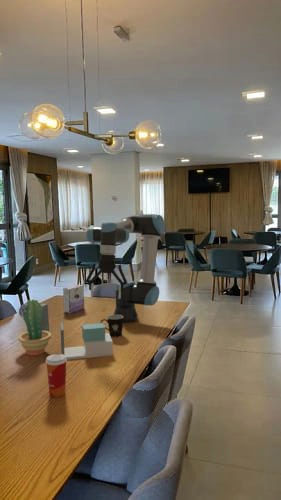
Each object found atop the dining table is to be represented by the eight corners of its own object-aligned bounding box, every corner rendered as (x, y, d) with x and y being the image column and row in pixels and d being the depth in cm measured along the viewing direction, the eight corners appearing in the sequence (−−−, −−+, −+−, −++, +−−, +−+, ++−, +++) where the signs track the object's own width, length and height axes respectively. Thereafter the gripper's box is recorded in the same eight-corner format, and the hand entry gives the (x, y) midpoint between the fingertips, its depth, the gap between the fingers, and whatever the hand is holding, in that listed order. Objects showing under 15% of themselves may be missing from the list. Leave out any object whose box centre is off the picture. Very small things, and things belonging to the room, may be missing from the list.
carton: (103, 335, 184) (102, 323, 184) (105, 340, 177) (105, 327, 177) (82, 336, 182) (82, 324, 181) (83, 342, 175) (83, 329, 174)
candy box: (78, 307, 260) (77, 284, 258) (84, 309, 257) (84, 285, 255) (63, 312, 249) (62, 287, 247) (69, 313, 246) (69, 288, 244)
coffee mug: (126, 333, 206) (126, 315, 205) (119, 338, 198) (118, 320, 197) (107, 330, 211) (107, 313, 210) (99, 335, 203) (99, 317, 202)
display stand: (108, 346, 188) (108, 318, 186) (112, 355, 177) (112, 325, 175) (61, 350, 183) (60, 322, 181) (62, 360, 171) (61, 330, 170)
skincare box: (43, 336, 203) (42, 307, 202) (31, 335, 205) (29, 306, 203) (50, 331, 212) (49, 303, 210) (38, 330, 213) (37, 302, 211)
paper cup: (48, 389, 144) (47, 353, 142) (69, 388, 145) (67, 352, 143) (45, 399, 136) (43, 362, 135) (66, 398, 137) (65, 361, 135)
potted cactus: (24, 345, 190) (22, 296, 187) (55, 345, 189) (54, 296, 186) (13, 357, 174) (11, 304, 172) (47, 358, 174) (45, 304, 171)
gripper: (80, 253, 182) (78, 297, 182) (132, 255, 181) (130, 300, 181) (83, 252, 190) (81, 295, 190) (133, 255, 189) (131, 298, 189)
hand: (105, 297), depth 186 cm, fingers open, 13 cm apart
